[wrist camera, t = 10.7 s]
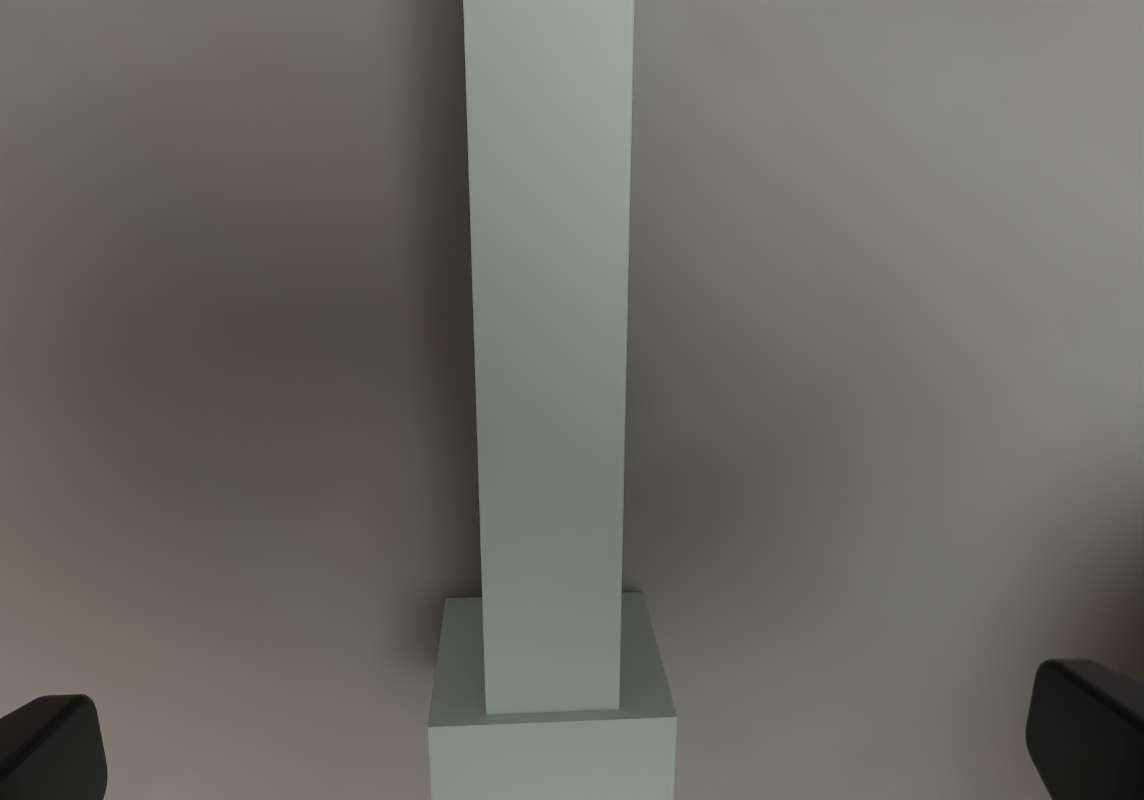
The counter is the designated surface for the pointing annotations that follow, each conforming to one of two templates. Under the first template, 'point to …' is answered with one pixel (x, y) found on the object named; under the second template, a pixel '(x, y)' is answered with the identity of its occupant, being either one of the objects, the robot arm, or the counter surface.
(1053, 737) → the robot arm
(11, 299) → the counter surface
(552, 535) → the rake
